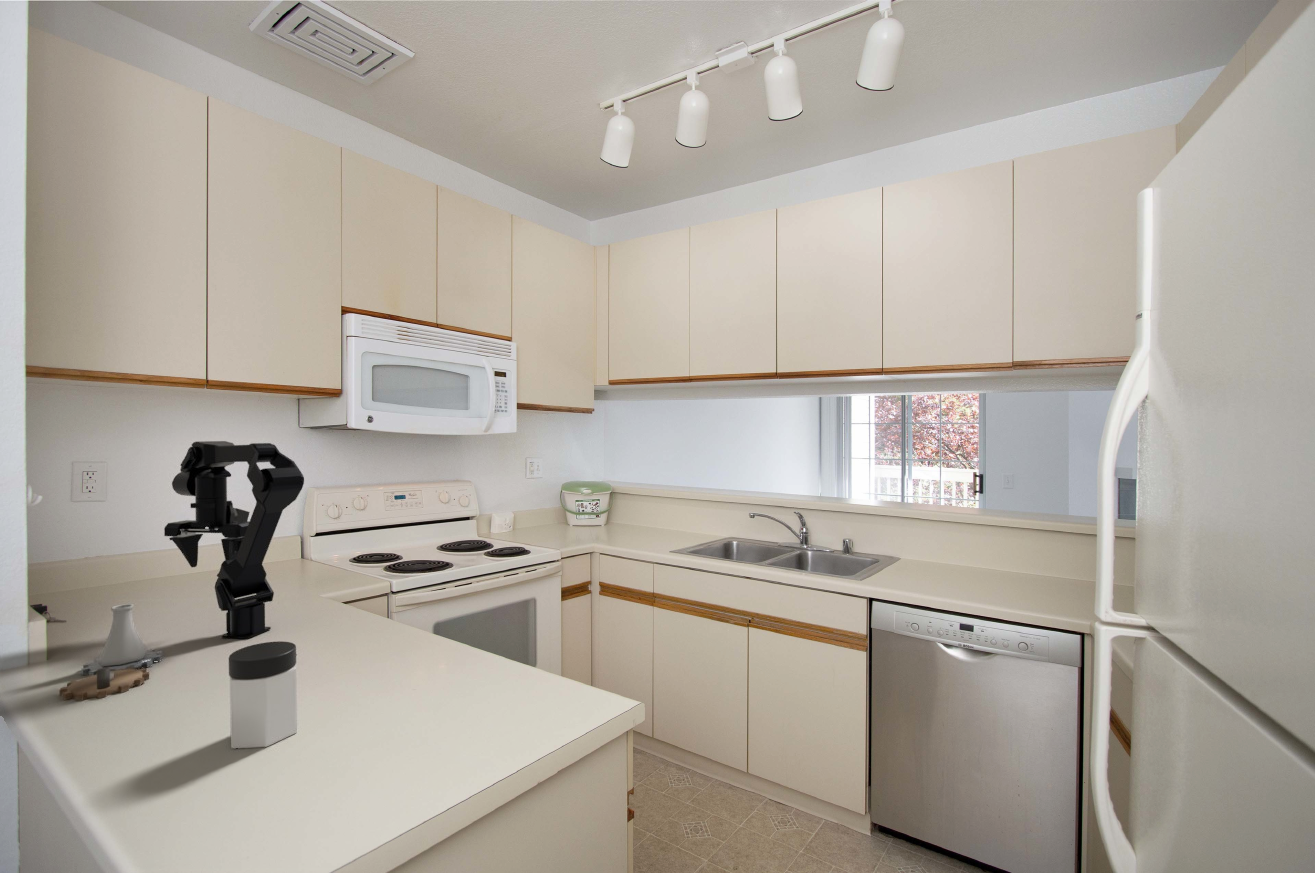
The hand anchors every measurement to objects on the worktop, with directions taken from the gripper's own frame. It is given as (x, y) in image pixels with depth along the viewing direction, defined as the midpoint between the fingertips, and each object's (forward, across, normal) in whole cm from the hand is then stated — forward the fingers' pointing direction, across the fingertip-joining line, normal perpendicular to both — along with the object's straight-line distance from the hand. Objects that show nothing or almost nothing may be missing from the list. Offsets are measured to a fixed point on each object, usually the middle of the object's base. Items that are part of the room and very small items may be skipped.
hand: (212, 567), depth 138 cm
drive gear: (+13, -10, +32) cm, 36 cm away
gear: (+13, -4, +23) cm, 27 cm away
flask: (+12, -4, +23) cm, 26 cm away
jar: (+13, -50, +43) cm, 67 cm away
